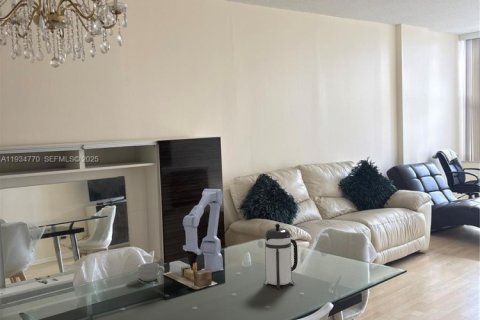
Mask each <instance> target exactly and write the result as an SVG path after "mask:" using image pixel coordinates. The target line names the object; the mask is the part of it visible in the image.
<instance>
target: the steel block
mask: <svg viewBox="0 0 480 320" xmlns="http://www.w3.org/2000/svg"><path fill="white" fill-rule="evenodd" d="M185 268H189V269H191V270H192V268H191V266H190V264H189V263H186V262H183V261H181V260H174V261H171V262H169V272H170V273H171V274H173V275H176V276H178V277H180V278H184V277H186V276H184V275H183V269H185Z"/></svg>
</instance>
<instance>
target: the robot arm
mask: <svg viewBox="0 0 480 320" xmlns="http://www.w3.org/2000/svg"><path fill="white" fill-rule="evenodd" d="M201 195H202V196H201V199H200V200H199V202H198V204H197V205H194V206H193V208H192V209H191V210H190V212H189V214H188V215H185V216H184V217H183V220H182V226H183V227H184V229H183V230H184V231H185V244H184V245H182V250H184V251H185V254H184V255H186V258H187V260H188V265H190V268H191V267H192V268H193V263H194V262H196V263H197V258H198V256H199V255H202V254H203V257H204V258H203V259H204V268H201V270H204V269H207V270H209V271H211V273H214V272H218V271H224V267H223V266H224V265H223V264H224V263H223V262H224V261H223V260H224V259H223V255H222V254H221V251H222V245H221V239H220V238H218V236H217V235H218V226H219V219H220V209H221V205H222V204H223V200H224V199H223V198H224V193H223V190H222V189H221V188H204V189H203V191H202V193H201ZM207 206H209V207H210V211H209V216H208V217H209V218H208V226H207V233H206V236H205V237H203V238H202V241H201V244H200V248H199V247H198V226H199V225H200V224H199V223H200V221H201V220H200V219H201V218H202V216H203V214H204V212H205V211H204V210H205V208H206V207H207Z"/></svg>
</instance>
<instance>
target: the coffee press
mask: <svg viewBox="0 0 480 320" xmlns="http://www.w3.org/2000/svg"><path fill="white" fill-rule="evenodd" d="M291 237H292V233H291V232H290V230H289V229H287V228H284V227H281V225H280V223H276V224H275V225H274V227H273V228H269V229H268V230H266V231H265V233H264V239H265V240H264V241H265V242H264V246H265V247H264V252H265V253H264V257H265V260H264V261H265V279H264V281H263V283H265V282H266V283H267V284H270V285H273V286H276V290H281V286H285V285H288V284H290V285H291V284H295V281H294V280H293V276H292V274H293V273H292V272H294V271H295V270H296V269H297V266H298V261H299V260H298V259H299V256H298V244H297V241H296V240H295V239H292V238H291ZM292 245H293V264H292ZM291 281H292V282H291Z"/></svg>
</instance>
